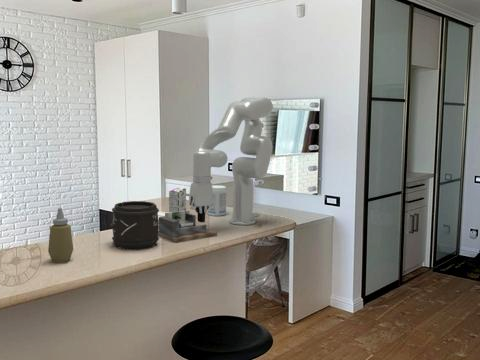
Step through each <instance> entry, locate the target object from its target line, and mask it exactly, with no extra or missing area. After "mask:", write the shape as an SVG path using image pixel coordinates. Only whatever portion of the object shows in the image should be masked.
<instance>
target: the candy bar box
mask: <svg viewBox="0 0 480 360" xmlns="http://www.w3.org/2000/svg"><path fill="white" fill-rule="evenodd" d="M186 210H187V188H185V187H175V188H173V189H171V190H169V191H168V213H169V212H178V211H186Z"/></svg>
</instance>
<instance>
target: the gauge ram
mask: <svg viewBox="0 0 480 360" xmlns="http://www.w3.org/2000/svg"><path fill="white" fill-rule="evenodd" d="M196 217H197V216H196V215H195V214H193V213H190V212H189V213H185V220H182V221H181V217H179V216H175V220H176V218H179V228H185V227H192V226H196V224H197V222H196V220H197V218H196Z"/></svg>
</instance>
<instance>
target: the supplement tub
mask: <svg viewBox="0 0 480 360" xmlns="http://www.w3.org/2000/svg"><path fill="white" fill-rule="evenodd" d="M212 188H213V204H212V207H211V208H208V210H207V214H208V215H209V216H213V217H222V216H225V215H226V214H227V186H225V185H219V184H218V185H217V184H216V185H214V184H213V185H212Z"/></svg>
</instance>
